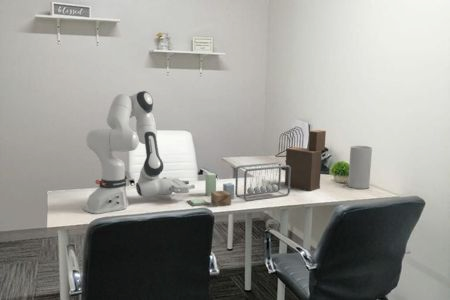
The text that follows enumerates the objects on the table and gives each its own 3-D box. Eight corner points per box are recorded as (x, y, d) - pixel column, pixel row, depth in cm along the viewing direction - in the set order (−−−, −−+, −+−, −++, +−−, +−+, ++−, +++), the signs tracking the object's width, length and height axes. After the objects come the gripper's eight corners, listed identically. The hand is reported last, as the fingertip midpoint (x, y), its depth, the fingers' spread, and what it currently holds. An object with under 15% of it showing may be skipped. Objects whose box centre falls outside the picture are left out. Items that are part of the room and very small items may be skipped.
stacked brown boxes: (323, 187, 257) (326, 130, 251) (310, 191, 247) (313, 132, 241) (297, 181, 270) (300, 127, 264) (284, 185, 260) (286, 129, 254)
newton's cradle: (244, 202, 223) (245, 169, 220) (234, 197, 232) (235, 165, 229) (289, 195, 237) (291, 165, 234) (279, 191, 246) (280, 161, 243)
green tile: (192, 206, 214) (192, 204, 213) (187, 201, 222) (187, 199, 222) (209, 204, 217) (209, 202, 217) (202, 199, 225) (203, 197, 225)
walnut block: (216, 207, 214) (216, 195, 213) (211, 202, 221) (211, 191, 220) (230, 205, 217) (231, 194, 216) (225, 201, 224) (225, 190, 223)
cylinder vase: (343, 185, 263) (346, 146, 259) (358, 183, 268) (361, 145, 264) (358, 190, 252) (361, 149, 248) (373, 188, 258) (376, 148, 253)
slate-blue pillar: (226, 200, 226) (226, 185, 225) (223, 197, 230) (223, 183, 229) (233, 199, 228) (234, 185, 226) (230, 197, 232) (230, 183, 231)
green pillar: (208, 196, 233) (208, 175, 231) (205, 194, 237) (205, 173, 235) (215, 195, 235) (216, 174, 233) (212, 193, 239) (213, 172, 237)
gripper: (172, 185, 214) (198, 183, 220) (161, 176, 233) (185, 174, 238) (172, 197, 215) (198, 194, 221) (162, 187, 234) (185, 185, 239)
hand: (191, 184), depth 230 cm, fingers open, 8 cm apart
